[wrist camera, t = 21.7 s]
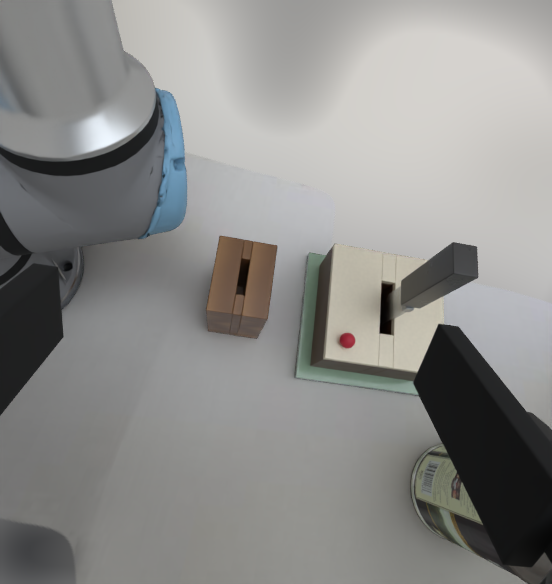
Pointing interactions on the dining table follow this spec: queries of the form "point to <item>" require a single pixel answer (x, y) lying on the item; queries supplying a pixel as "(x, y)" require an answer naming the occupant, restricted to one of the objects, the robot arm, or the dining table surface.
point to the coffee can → (458, 512)
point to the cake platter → (307, 337)
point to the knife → (432, 281)
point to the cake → (369, 315)
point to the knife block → (240, 287)
